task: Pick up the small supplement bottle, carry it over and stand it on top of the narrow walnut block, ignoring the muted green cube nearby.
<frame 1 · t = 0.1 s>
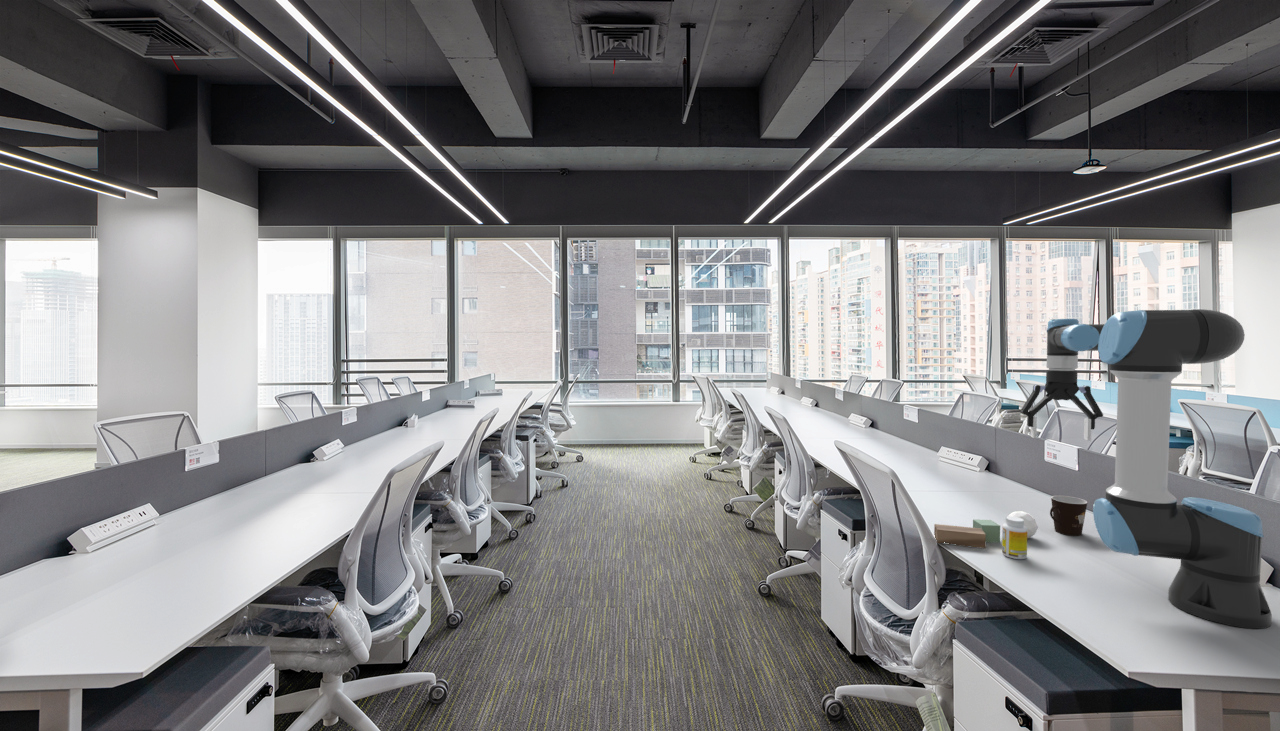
hand: (1059, 438, 165), 28 cm above the table, fingers open, 13 cm apart
geometric ball: (1021, 537, 160), on the table
supplement bottle: (1014, 556, 146), on the table
walnut block: (959, 542, 156), on the table
coffee mug: (1062, 532, 164), on the table
green cube: (986, 539, 159), on the table
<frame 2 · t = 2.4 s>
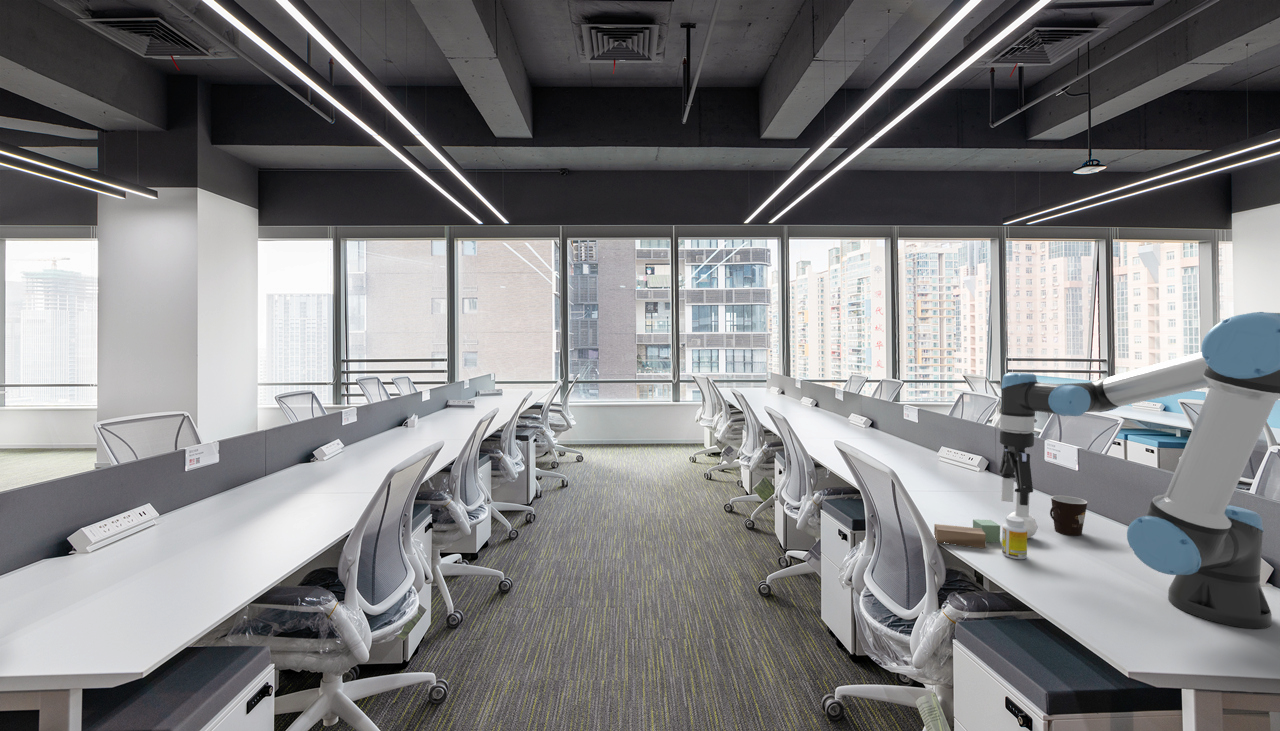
hand: (1014, 508, 146), 13 cm above the table, fingers open, 13 cm apart
nothing on the table moved.
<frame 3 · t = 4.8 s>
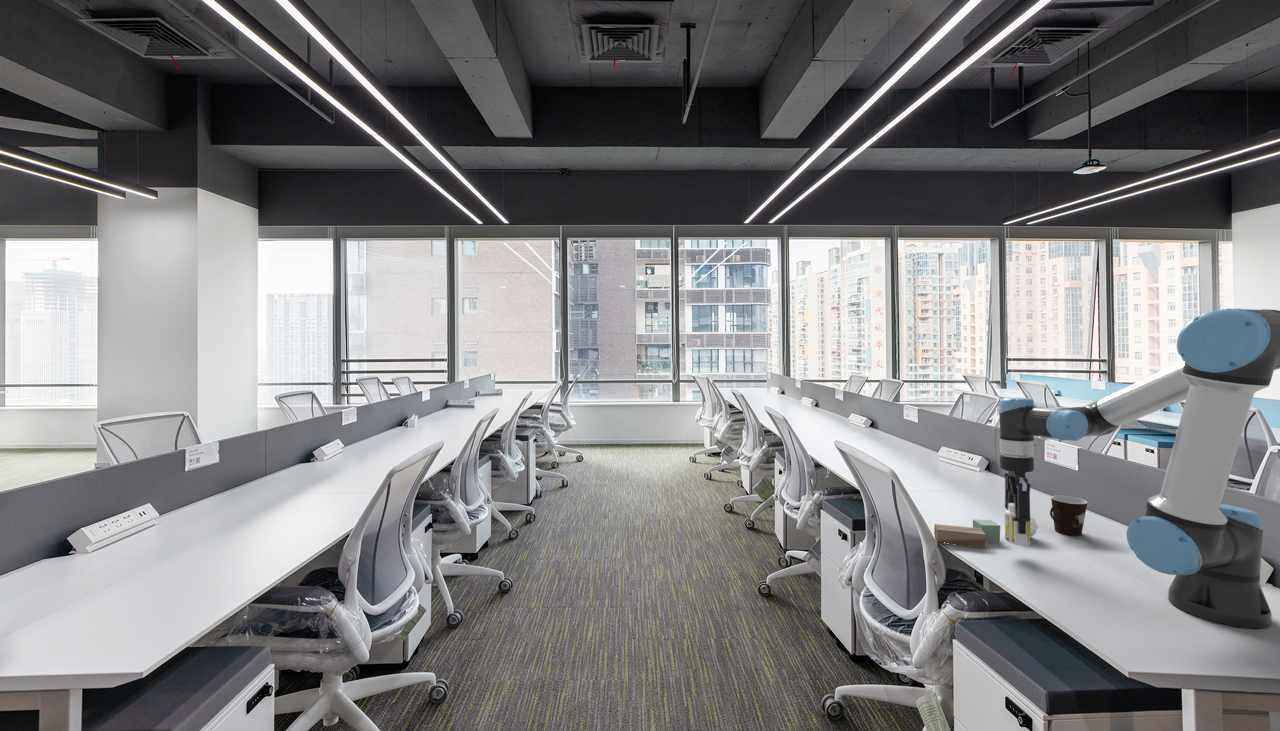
hand: (1017, 541, 145), 4 cm above the table, fingers closed on supplement bottle, 6 cm apart
supplement bottle: (1017, 543, 145), point 4 cm above the table, touching gripper
everything else where it was.
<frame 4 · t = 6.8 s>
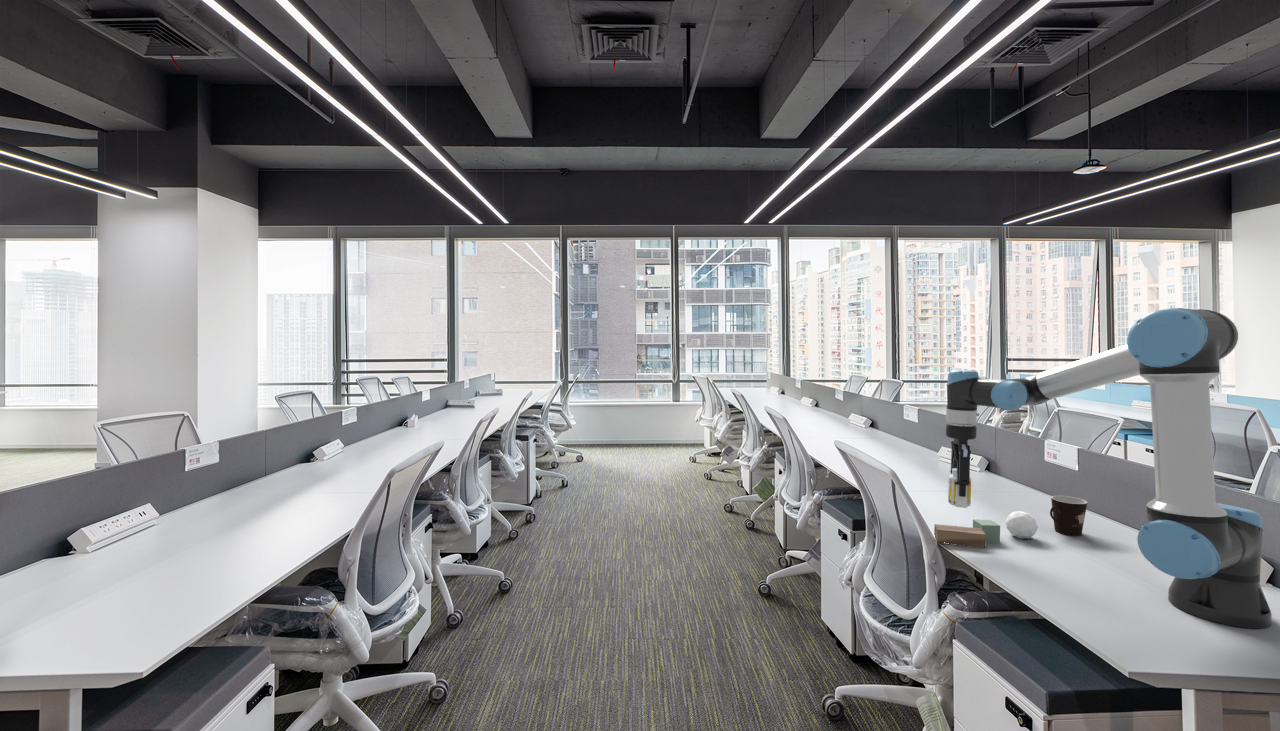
hand: (958, 503, 156), 11 cm above the table, fingers closed on supplement bottle, 6 cm apart
supplement bottle: (959, 505, 156), point 11 cm above the table, touching gripper
everything else where it was.
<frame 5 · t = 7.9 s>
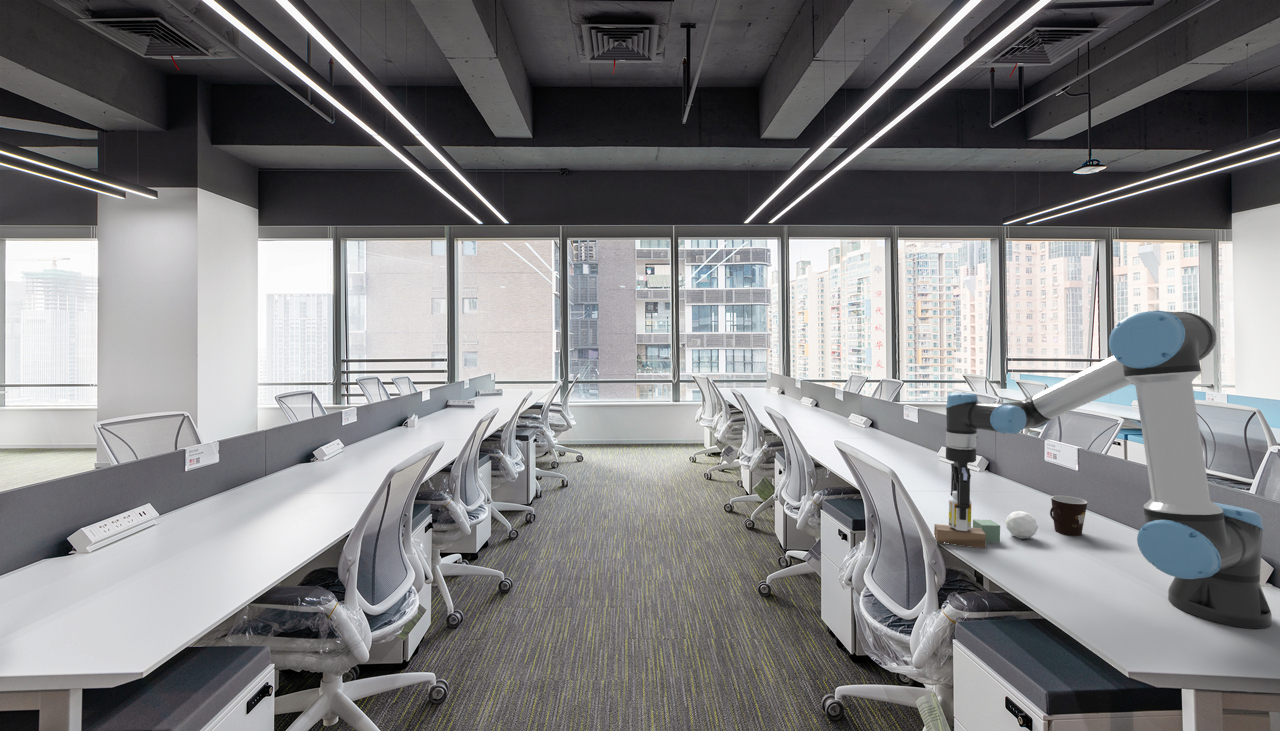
hand: (959, 526, 156), 5 cm above the table, fingers closed on supplement bottle, 6 cm apart
supplement bottle: (959, 528, 156), point 4 cm above the table, touching gripper
everything else where it was.
when the fingers open (5 cm above the table, at t = 9.0 s): supplement bottle stays where it is, resting on walnut block.
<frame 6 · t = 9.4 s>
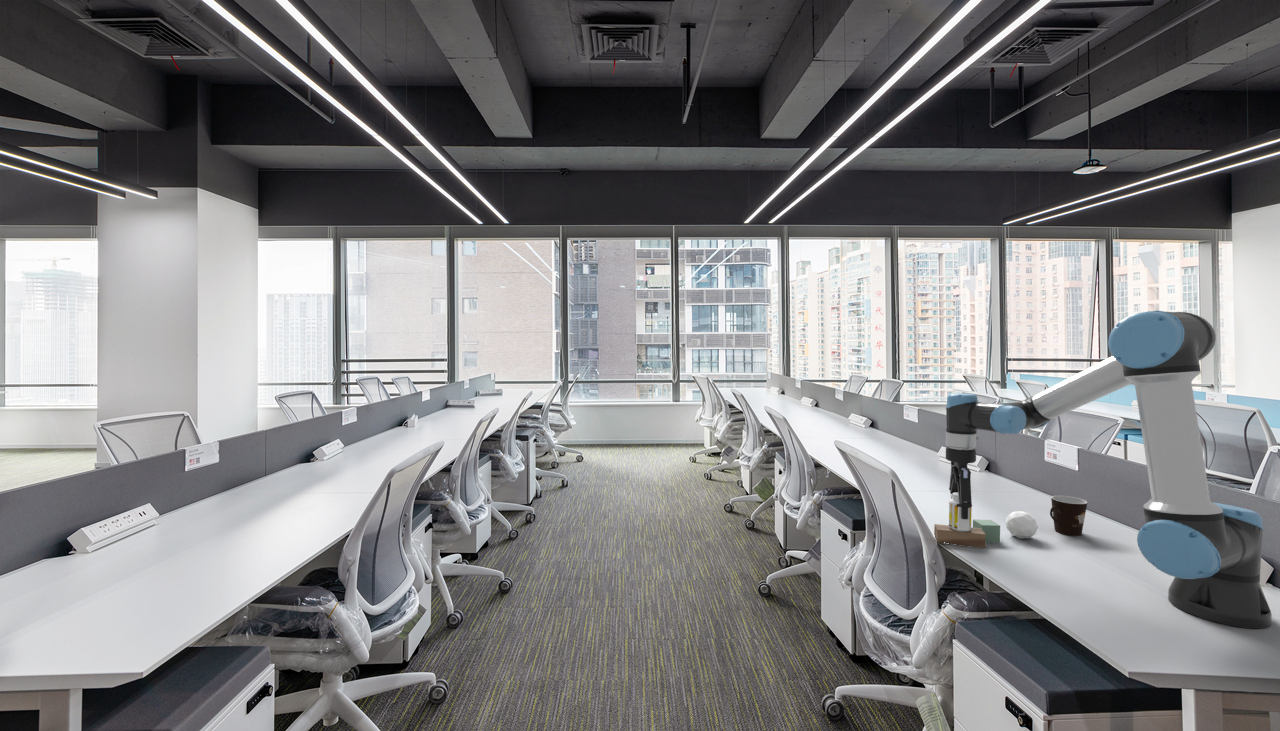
hand: (959, 523, 156), 6 cm above the table, fingers open, 10 cm apart
supplement bottle: (959, 529, 156), point 4 cm above the table, touching walnut block
everything else where it was.
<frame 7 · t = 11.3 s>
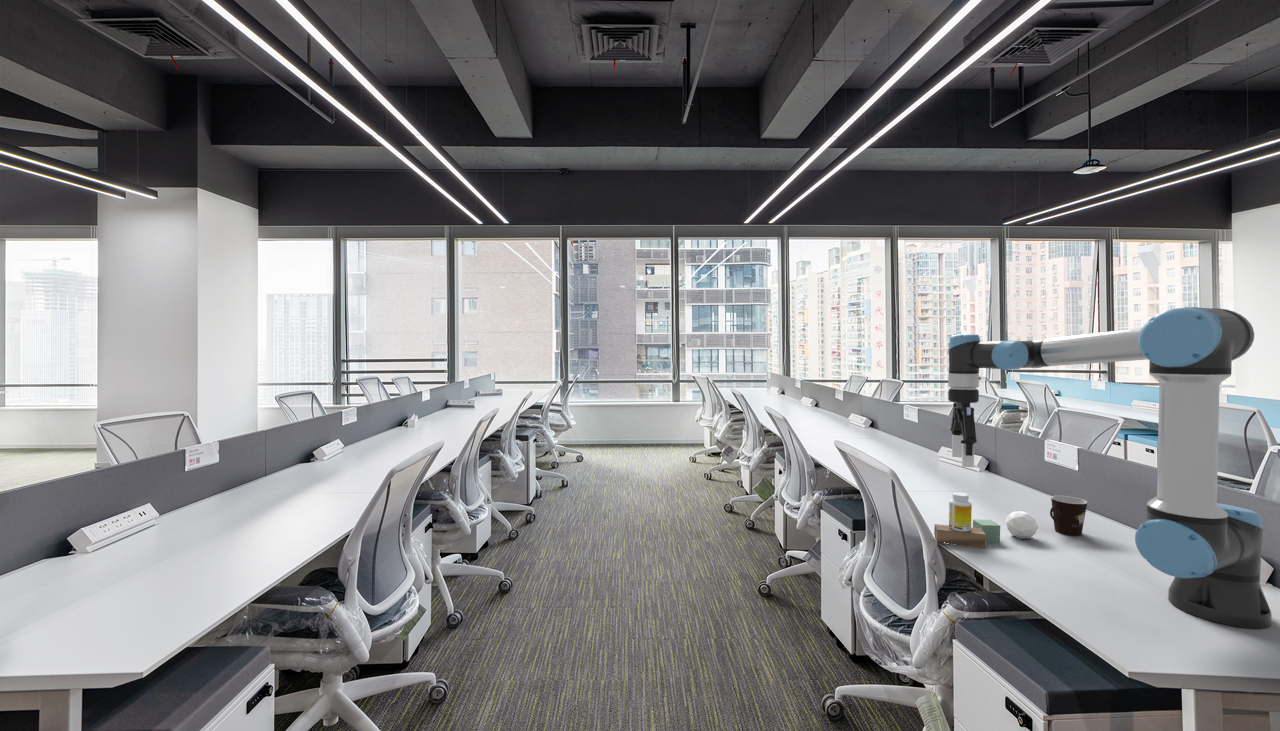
hand: (962, 461, 156), 23 cm above the table, fingers open, 13 cm apart
nothing on the table moved.
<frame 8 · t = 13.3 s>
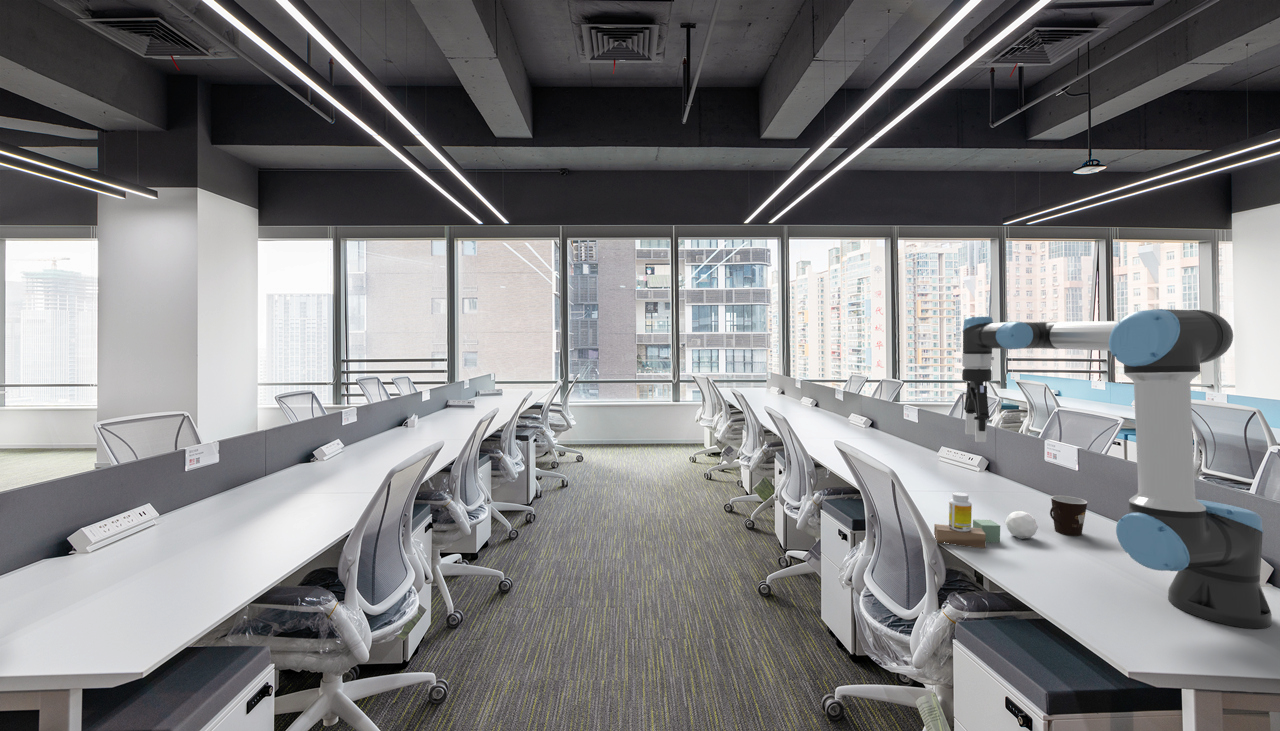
hand: (975, 438, 164), 29 cm above the table, fingers open, 13 cm apart
nothing on the table moved.
at the end: supplement bottle inside the target area on the walnut block (0.1 cm from its centre), point 3.8 cm above the walnut block's base; supplement bottle tilted 0°; the gripper is holding nothing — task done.
